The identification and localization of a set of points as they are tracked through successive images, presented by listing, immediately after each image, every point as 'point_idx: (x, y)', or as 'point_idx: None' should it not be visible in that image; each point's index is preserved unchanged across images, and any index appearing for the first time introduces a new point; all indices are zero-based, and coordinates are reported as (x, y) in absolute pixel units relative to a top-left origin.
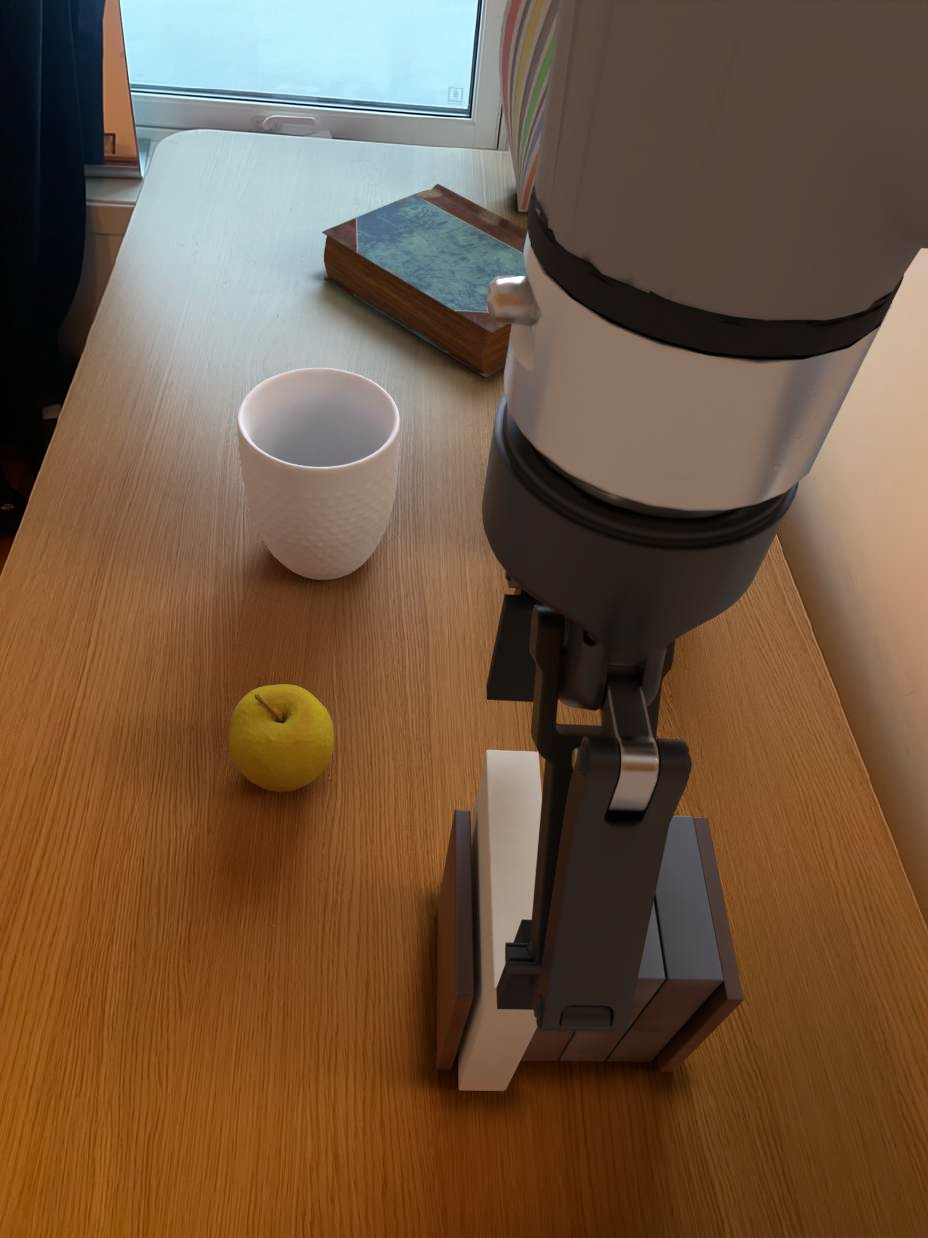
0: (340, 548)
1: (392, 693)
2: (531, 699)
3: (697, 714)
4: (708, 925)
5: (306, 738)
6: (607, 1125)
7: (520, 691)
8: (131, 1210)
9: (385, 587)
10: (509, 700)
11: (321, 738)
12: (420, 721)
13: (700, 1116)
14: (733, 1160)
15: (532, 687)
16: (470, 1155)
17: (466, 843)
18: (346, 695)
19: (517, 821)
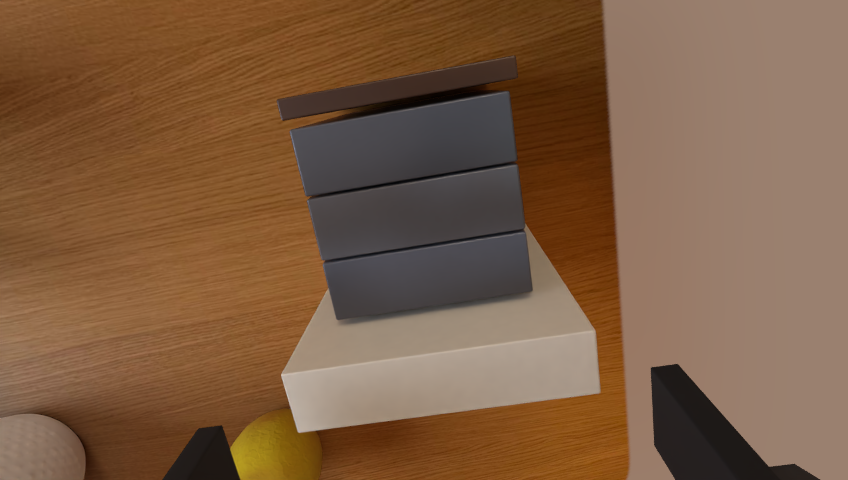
0: (40, 475)
1: (183, 359)
2: (225, 447)
3: (81, 44)
4: (441, 110)
5: (280, 469)
6: (535, 127)
7: (222, 478)
8: (618, 435)
9: (62, 387)
10: (236, 471)
11: (273, 452)
12: (204, 330)
13: (518, 41)
14: (550, 9)
15: (212, 472)
16: (568, 234)
17: None
18: (200, 395)
19: (389, 389)
